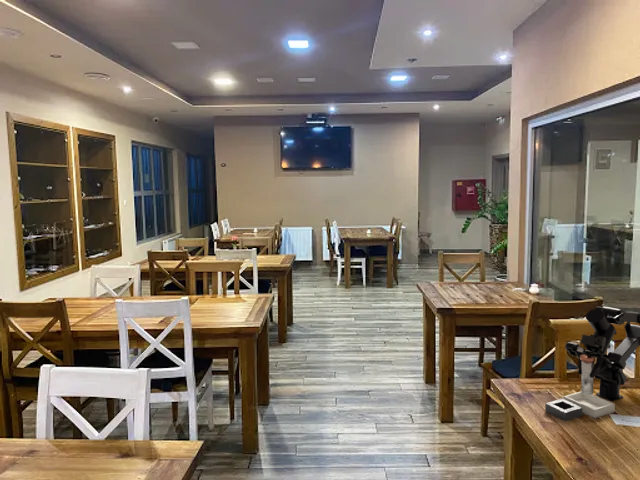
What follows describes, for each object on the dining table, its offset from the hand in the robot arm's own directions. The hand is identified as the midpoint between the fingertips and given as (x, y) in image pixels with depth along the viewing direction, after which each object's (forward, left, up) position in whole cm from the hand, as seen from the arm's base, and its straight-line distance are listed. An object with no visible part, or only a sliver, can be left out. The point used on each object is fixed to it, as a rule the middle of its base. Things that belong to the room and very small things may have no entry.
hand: (585, 375), depth 164 cm
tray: (-2, 0, -12) cm, 12 cm away
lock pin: (-1, 0, -7) cm, 7 cm away
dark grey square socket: (+9, -1, -12) cm, 15 cm away
